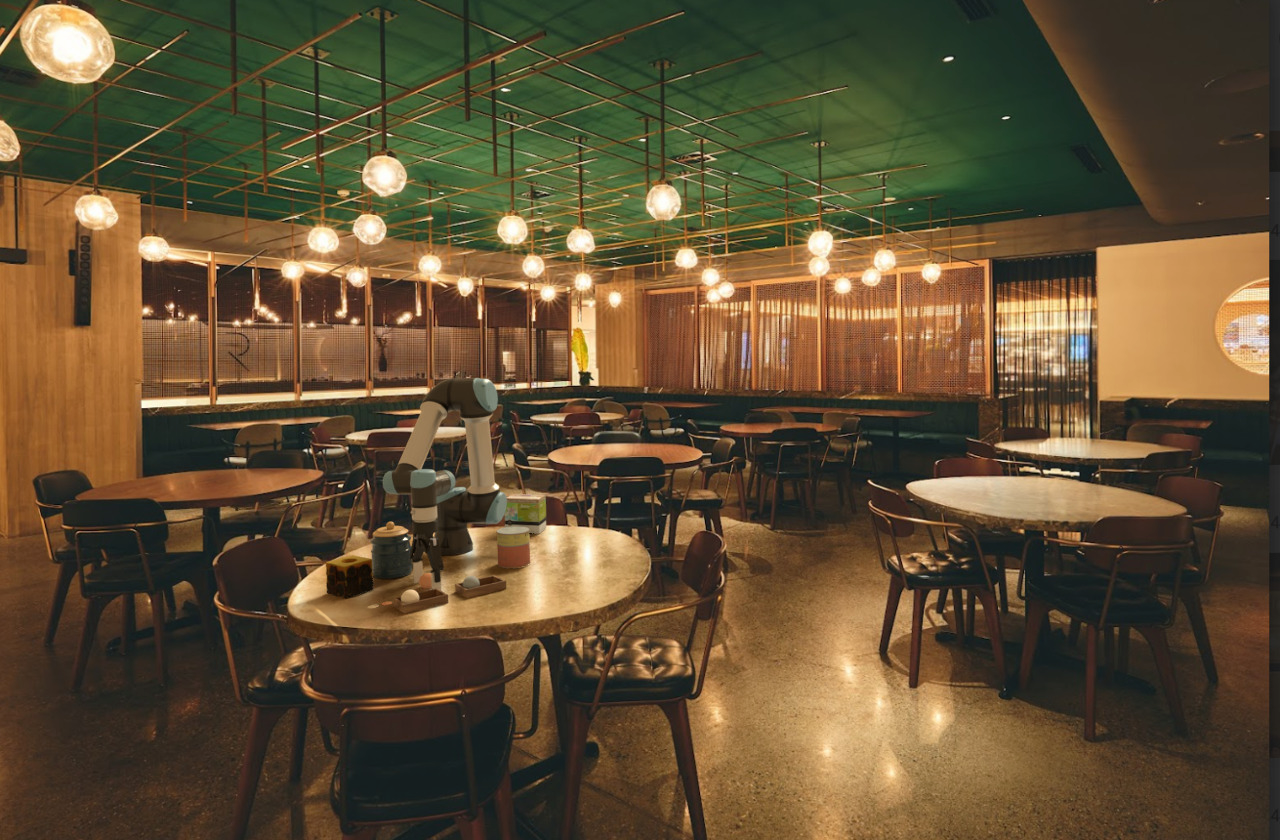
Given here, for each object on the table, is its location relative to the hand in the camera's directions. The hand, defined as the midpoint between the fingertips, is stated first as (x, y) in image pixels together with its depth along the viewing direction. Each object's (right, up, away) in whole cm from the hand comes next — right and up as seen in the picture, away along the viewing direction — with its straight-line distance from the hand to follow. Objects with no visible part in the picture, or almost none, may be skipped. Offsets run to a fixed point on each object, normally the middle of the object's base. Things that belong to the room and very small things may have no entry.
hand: (427, 587), depth 222 cm
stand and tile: (-4, -1, -8) cm, 9 cm away
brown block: (-23, -1, -1) cm, 24 cm away
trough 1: (+3, -2, -16) cm, 16 cm away
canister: (-17, 0, +17) cm, 24 cm away
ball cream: (0, -2, -18) cm, 18 cm away
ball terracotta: (0, -1, 0) cm, 1 cm away
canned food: (+22, +2, +27) cm, 35 cm away
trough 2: (+17, -1, -3) cm, 18 cm away
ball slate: (+15, 0, -6) cm, 16 cm away
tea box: (+19, +6, +74) cm, 77 cm away
